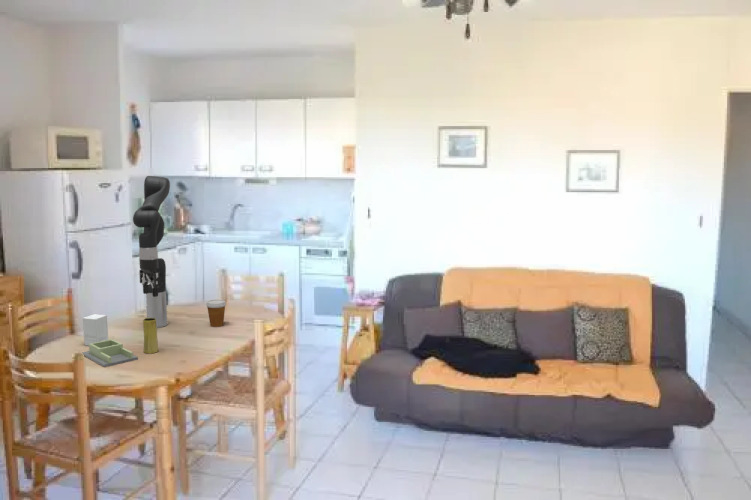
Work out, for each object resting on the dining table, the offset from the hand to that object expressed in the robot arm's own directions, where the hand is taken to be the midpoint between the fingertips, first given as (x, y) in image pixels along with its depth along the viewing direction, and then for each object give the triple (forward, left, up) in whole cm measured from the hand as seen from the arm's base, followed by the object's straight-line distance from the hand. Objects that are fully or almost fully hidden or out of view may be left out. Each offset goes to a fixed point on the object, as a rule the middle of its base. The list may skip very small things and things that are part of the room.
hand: (150, 295), depth 282 cm
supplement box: (-27, -13, -25) cm, 39 cm away
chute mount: (-5, -17, -25) cm, 30 cm away
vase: (0, -1, -25) cm, 25 cm away
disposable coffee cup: (-16, +42, -25) cm, 51 cm away
